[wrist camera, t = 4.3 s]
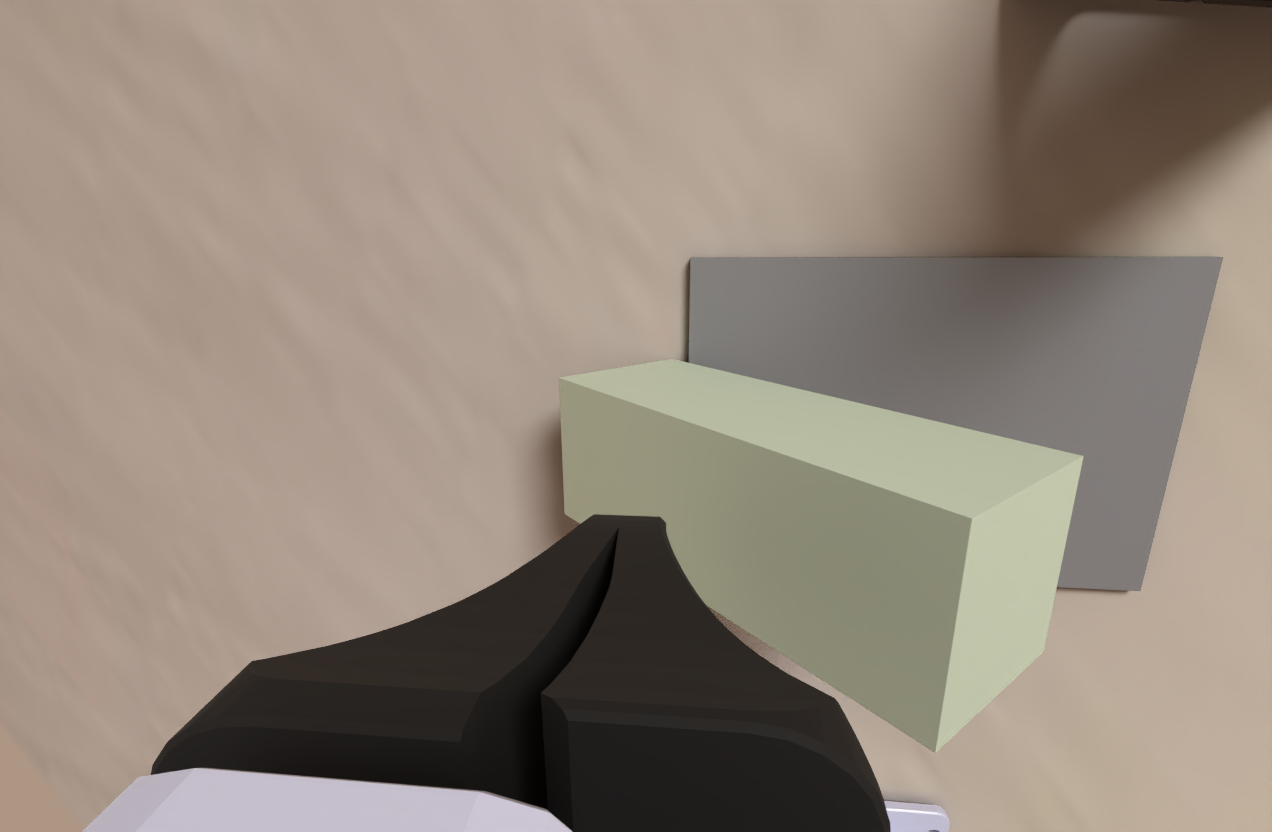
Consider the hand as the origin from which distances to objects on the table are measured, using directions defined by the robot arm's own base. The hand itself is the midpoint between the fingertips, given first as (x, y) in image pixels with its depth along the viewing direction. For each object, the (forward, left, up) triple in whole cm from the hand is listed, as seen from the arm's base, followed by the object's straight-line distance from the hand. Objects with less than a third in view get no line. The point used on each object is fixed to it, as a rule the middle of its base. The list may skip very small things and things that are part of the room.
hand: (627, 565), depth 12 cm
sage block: (0, +1, -8) cm, 8 cm away
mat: (0, -8, -9) cm, 12 cm away
